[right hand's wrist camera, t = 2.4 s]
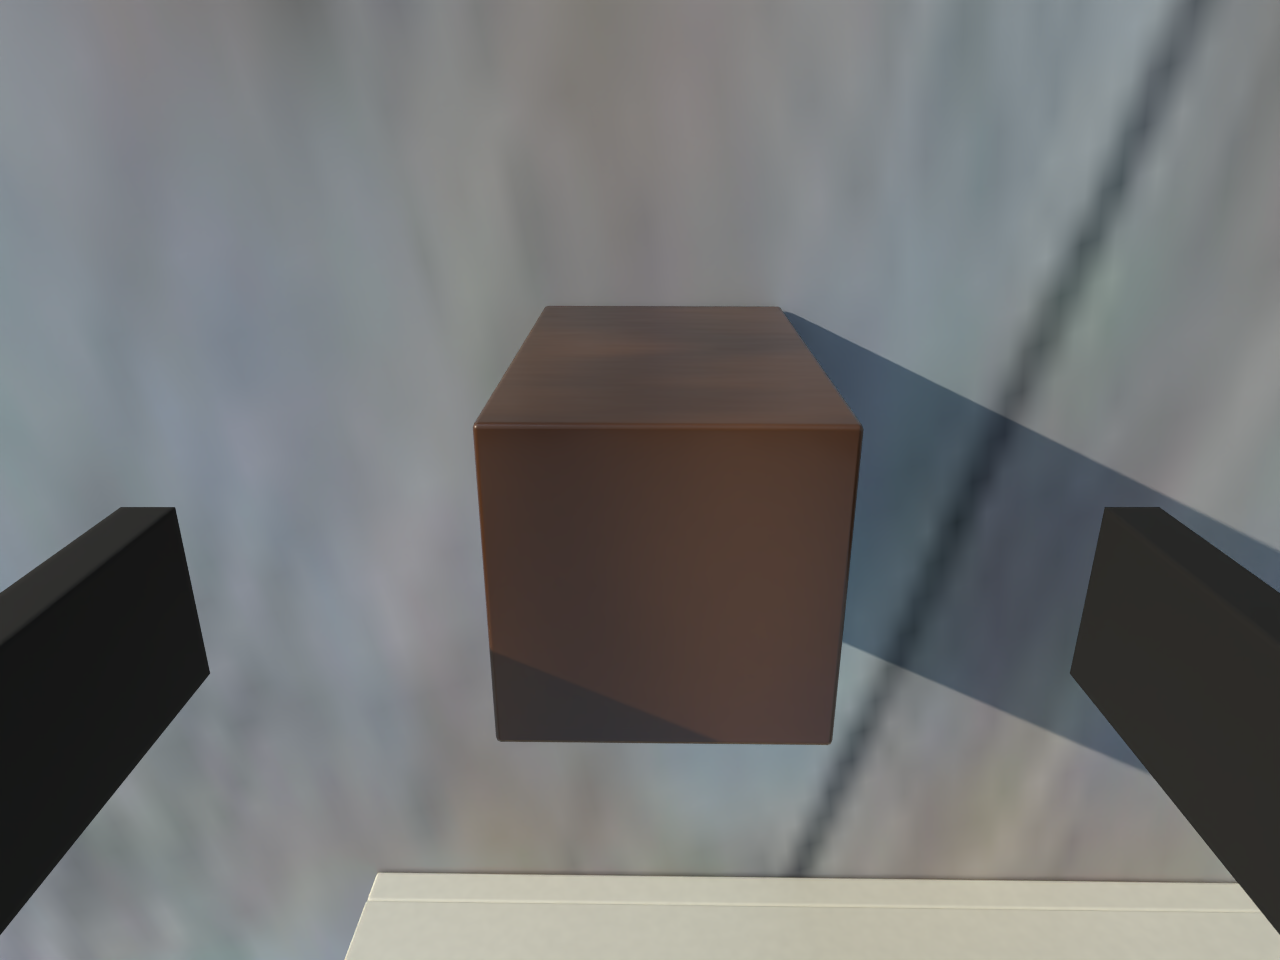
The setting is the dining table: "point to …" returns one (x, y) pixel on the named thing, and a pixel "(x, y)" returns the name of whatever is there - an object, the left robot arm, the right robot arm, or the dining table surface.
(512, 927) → the tray
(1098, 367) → the dining table surface
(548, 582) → the walnut block
